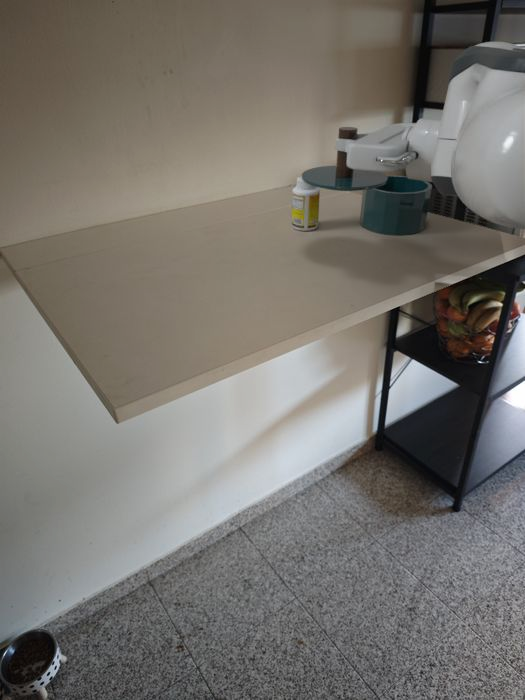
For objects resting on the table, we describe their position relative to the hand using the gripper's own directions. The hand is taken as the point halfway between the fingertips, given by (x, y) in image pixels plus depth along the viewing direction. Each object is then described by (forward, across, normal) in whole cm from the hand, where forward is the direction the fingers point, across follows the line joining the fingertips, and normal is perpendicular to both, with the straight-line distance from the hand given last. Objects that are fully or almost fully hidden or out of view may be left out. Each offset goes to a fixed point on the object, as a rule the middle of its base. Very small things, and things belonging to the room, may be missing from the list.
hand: (342, 141), depth 83 cm
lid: (-1, 0, -6) cm, 6 cm away
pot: (-4, +22, -20) cm, 30 cm away
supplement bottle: (+11, +11, -20) cm, 25 cm away
